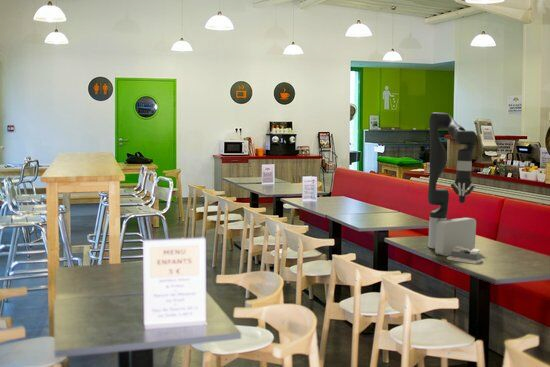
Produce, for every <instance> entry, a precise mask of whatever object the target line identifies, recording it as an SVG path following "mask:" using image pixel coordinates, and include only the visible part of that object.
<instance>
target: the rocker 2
mask: <svg viewBox="0 0 550 367" xmlns="http://www.w3.org/2000/svg"><path fill="white" fill-rule="evenodd" d="M480 250H481V249H480V248H479V249H478V248H474V249H473V250H471V251H470V254H477V253H478V254H479V252H480Z"/></svg>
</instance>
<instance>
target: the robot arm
mask: <svg viewBox="0 0 550 367" xmlns="http://www.w3.org/2000/svg"><path fill="white" fill-rule="evenodd" d="M428 124H429V126H428V127H429V178H428V179H429V180H428V189H427V190H428V191H427V201H428V204H429V205H431V206H438V208H436V209H434V210H431V211H430V212H429V223H428V243H427V247H428V248H430V249H434V250H435V242H436V226H437V223H438V222H439V221H443V220H448V219H447V218H448V210H449V202H450V192H449V190H448V189H447V188H437V184H438V183H437V182H438V180H439V178H440V177H441V174H442V173H443V172H444V171H445V169H446V167H447V162H448V159H447V157H448V154H447V150H446V148H445V147H444V145H443V143H442V141H441V139H440V138H439V137H440V136H439V130H447V132H448V135H449V136H451V137H452V138H453V139H454V140H455V143H456V144H458V145H466V146H465V147H464V148H461V149H458V151H457V162H456V167H455V168H456V171H455V181H454V182H453V183H451V184H450V187H451V188H452V190H453V192H454V193H455V194H456V195H458V196H459V198H458V201H459V203H460V204H465V202H466V196H468V195H470V194H471V193H472V192H473V191H474V190H475V188H476V186H475V185H474V184H473V183H472V166H473V165H472V164H473V163H472V159H473V151H474V149H475V148H474V147H475V145H476V142H477V139H478V138H477V134H476V132H475V131H473V130H466V129H465V128H464V127H463V126H462V125H461V124H458V123H457V122H456V121H455V120H454V118H453V117H452V116H451V115H450V114H449V113H446V112H432V113H431V114H430V115H429V122H428Z"/></svg>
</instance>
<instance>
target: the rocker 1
mask: <svg viewBox="0 0 550 367" xmlns="http://www.w3.org/2000/svg"><path fill="white" fill-rule="evenodd" d="M462 248H463V247H462V246H456V247H455V248H454V249H453V251H456V252H460V251H461V250H462Z"/></svg>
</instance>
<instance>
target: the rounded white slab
mask: <svg viewBox="0 0 550 367" xmlns="http://www.w3.org/2000/svg"><path fill="white" fill-rule="evenodd" d="M476 229H477V220H476V218H472V217H461V218H460V217H459V218H458V217H457V218H452V219H447V220H443V221H439V222H438V223H437V226H436V242H435V249H434V252H435V254H436V255H439V256H445V257H446V256H447V257H449V256H451V252H452V251H453V249H454V248H455V247H456V246H462V247H463V248H468V249H469V250H473V249H476V248H475V246H476V232H477V230H476ZM461 251H463V250H461Z"/></svg>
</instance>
